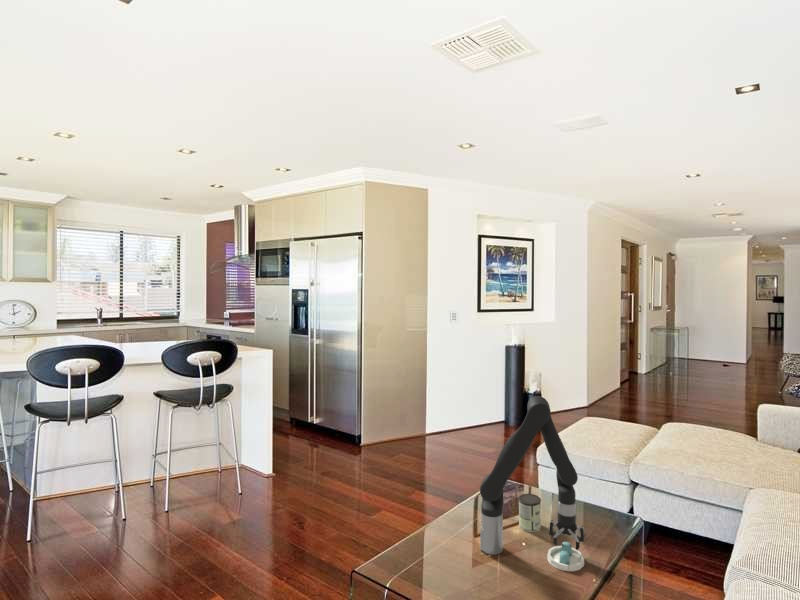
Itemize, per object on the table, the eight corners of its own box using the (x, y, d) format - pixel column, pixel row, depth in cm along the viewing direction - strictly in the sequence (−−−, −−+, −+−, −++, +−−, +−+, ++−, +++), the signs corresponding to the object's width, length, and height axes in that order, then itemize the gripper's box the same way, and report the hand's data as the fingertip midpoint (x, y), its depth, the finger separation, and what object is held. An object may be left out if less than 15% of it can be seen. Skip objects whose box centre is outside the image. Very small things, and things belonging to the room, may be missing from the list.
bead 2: (559, 565, 217) (559, 555, 217) (560, 560, 221) (560, 550, 221) (569, 567, 216) (569, 557, 215) (570, 562, 219) (570, 552, 219)
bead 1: (561, 555, 224) (561, 545, 224) (562, 550, 228) (562, 541, 227) (570, 557, 222) (571, 547, 222) (571, 552, 226) (572, 542, 226)
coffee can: (522, 519, 257) (522, 491, 255) (543, 524, 251) (543, 496, 250) (515, 528, 248) (515, 500, 247) (536, 534, 242) (536, 505, 241)
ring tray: (544, 566, 218) (544, 561, 218) (550, 547, 232) (550, 542, 232) (582, 574, 212) (582, 569, 212) (585, 554, 226) (585, 549, 225)
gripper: (548, 512, 223) (548, 548, 224) (583, 518, 217) (583, 555, 219) (550, 504, 230) (550, 539, 231) (585, 510, 224) (584, 545, 225)
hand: (566, 547), depth 225 cm, fingers open, 8 cm apart
